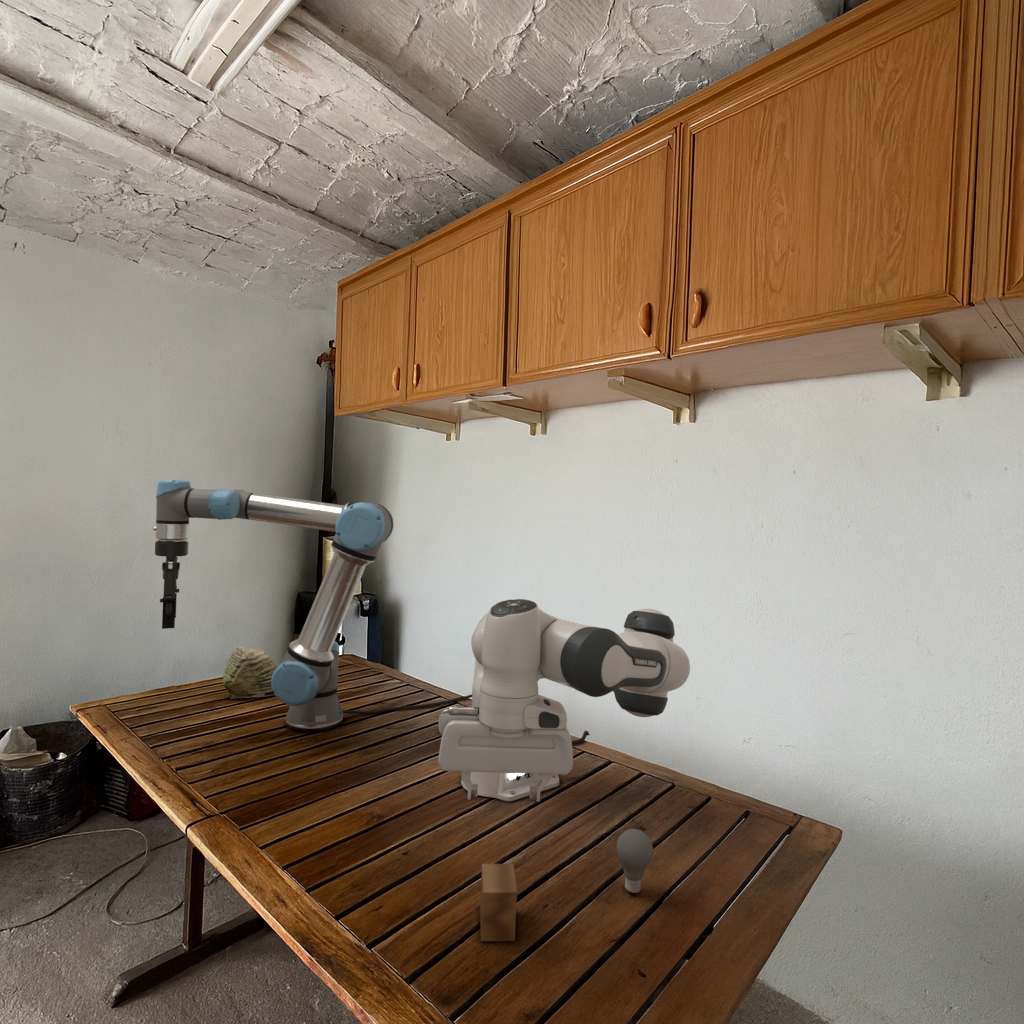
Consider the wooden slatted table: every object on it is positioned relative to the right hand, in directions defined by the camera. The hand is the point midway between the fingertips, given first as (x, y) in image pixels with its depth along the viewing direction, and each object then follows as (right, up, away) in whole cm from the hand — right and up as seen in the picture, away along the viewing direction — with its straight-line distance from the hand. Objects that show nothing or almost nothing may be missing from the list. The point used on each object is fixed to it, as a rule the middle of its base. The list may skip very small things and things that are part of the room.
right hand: (503, 799), depth 96 cm
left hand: (-87, +15, +66) cm, 110 cm away
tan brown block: (-1, -19, 0) cm, 19 cm away
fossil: (-79, -14, +102) cm, 130 cm away
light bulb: (+21, -20, +10) cm, 31 cm away
